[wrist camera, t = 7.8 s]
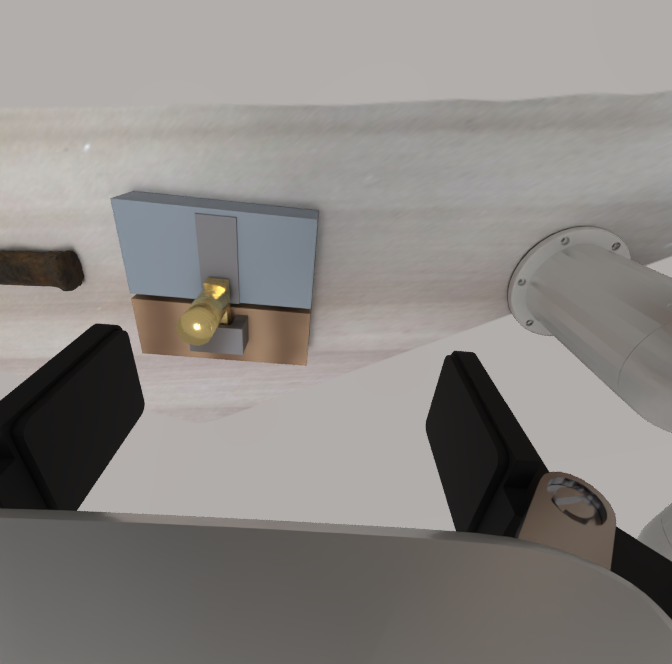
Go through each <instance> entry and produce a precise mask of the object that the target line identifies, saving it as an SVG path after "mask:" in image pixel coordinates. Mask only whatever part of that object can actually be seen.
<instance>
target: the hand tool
mask: <svg viewBox="0 0 672 664" xmlns="http://www.w3.org/2000/svg"><path fill="white" fill-rule="evenodd" d="M83 278H84V275H83V272H82V267H81V263H80V261H79V259H78V257H77V255H76V254H75V253H74V252H73V251H66V252H51V251H50V252H48V253H33V252H22V251H21V252H5V251H0V284H3V285H24V286H52V287H58V288H60V289H62V290H63V291H72V290H74V289H76V288H77V287H78V286H81V284H82V280H83Z"/></svg>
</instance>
